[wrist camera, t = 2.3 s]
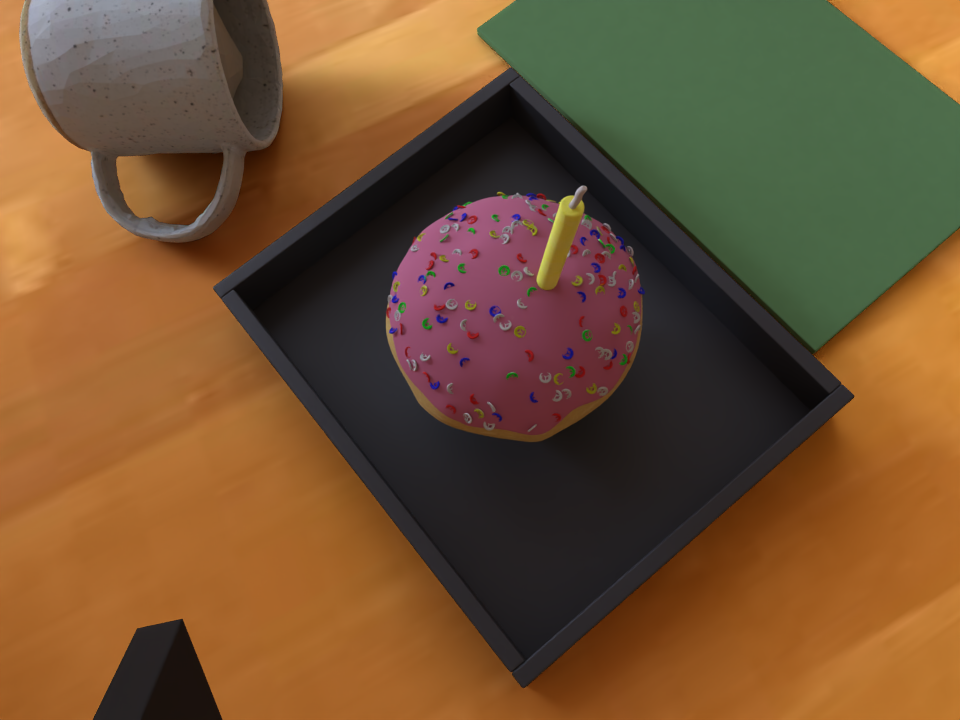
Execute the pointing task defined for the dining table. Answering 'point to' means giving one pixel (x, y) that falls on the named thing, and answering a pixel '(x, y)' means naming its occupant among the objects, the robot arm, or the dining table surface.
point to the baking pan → (574, 450)
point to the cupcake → (515, 315)
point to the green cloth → (757, 137)
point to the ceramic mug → (156, 88)
